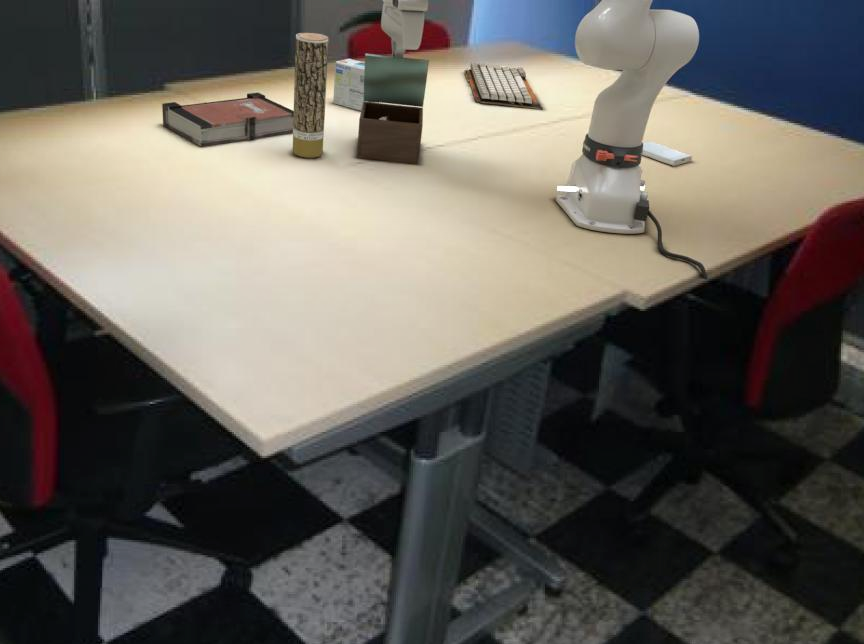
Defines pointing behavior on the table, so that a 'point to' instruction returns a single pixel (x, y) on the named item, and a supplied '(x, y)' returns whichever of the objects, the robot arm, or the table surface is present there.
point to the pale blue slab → (395, 80)
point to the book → (228, 120)
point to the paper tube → (309, 94)
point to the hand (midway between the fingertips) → (397, 61)
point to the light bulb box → (349, 84)
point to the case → (390, 132)
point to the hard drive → (665, 154)
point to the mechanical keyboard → (501, 86)
